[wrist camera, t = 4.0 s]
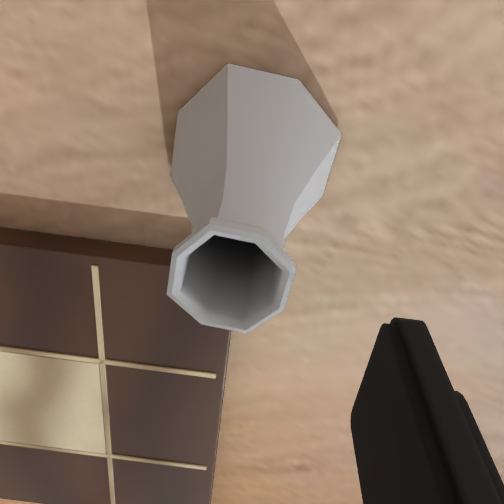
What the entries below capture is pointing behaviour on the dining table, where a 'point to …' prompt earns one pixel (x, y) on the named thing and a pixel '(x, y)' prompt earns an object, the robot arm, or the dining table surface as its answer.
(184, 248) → the flask
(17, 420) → the board
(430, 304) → the dining table surface
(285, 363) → the dining table surface
